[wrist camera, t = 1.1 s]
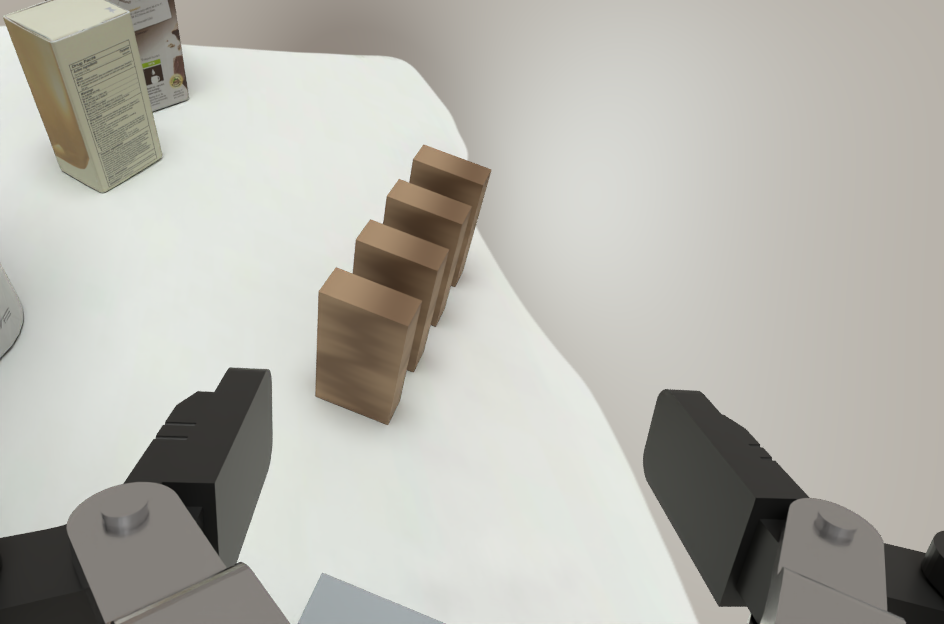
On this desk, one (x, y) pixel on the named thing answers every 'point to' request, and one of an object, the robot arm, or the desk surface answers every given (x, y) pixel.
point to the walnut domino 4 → (363, 344)
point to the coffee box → (158, 49)
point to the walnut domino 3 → (403, 271)
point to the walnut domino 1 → (452, 188)
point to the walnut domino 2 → (429, 226)
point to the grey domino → (355, 606)
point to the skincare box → (88, 87)
